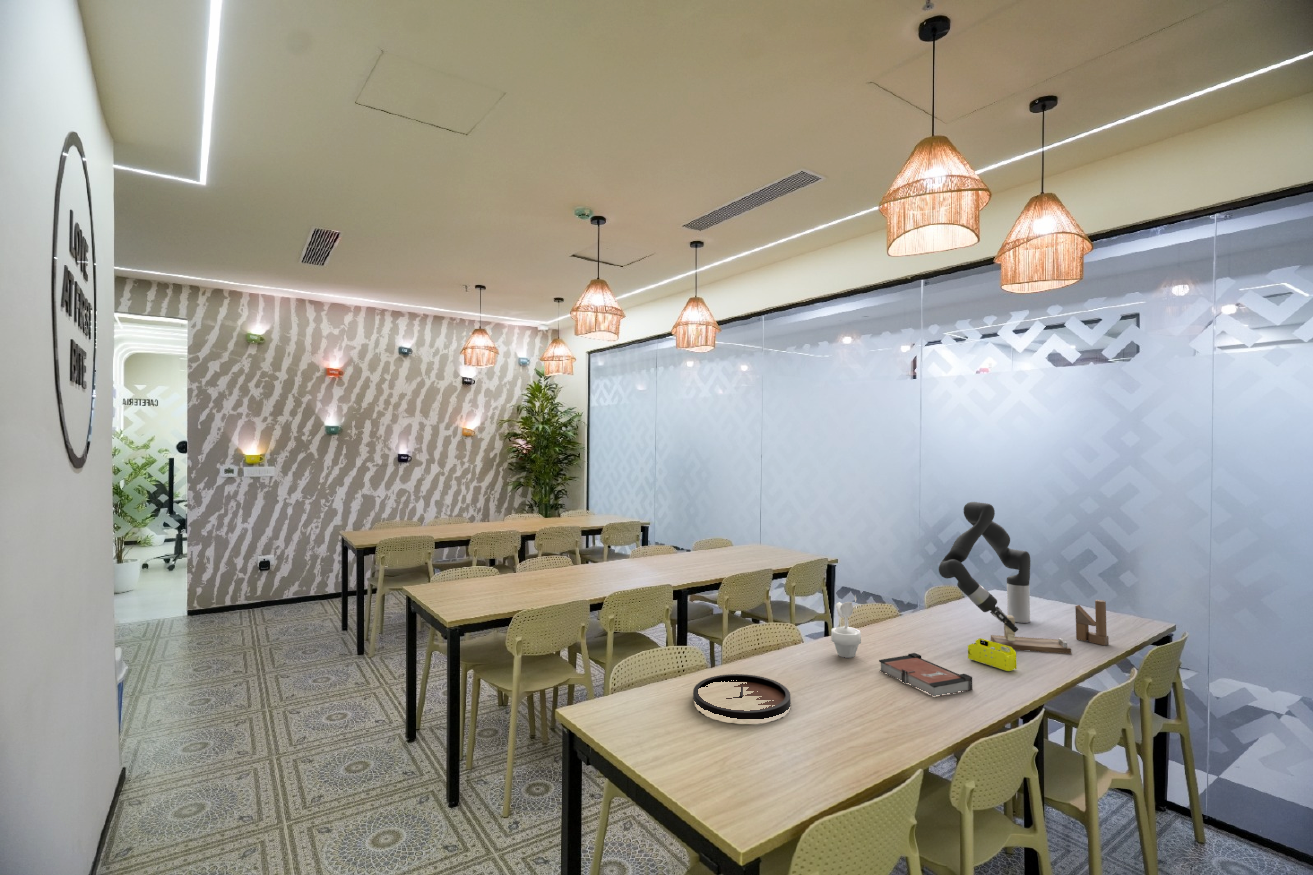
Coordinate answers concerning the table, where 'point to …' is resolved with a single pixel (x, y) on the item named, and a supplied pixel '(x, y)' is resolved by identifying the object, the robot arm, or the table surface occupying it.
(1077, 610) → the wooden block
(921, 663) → the book
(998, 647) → the yellow toy chassis
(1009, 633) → the beige tall blocky piece
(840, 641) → the potted plant
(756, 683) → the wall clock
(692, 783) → the table surface
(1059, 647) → the walnut board
